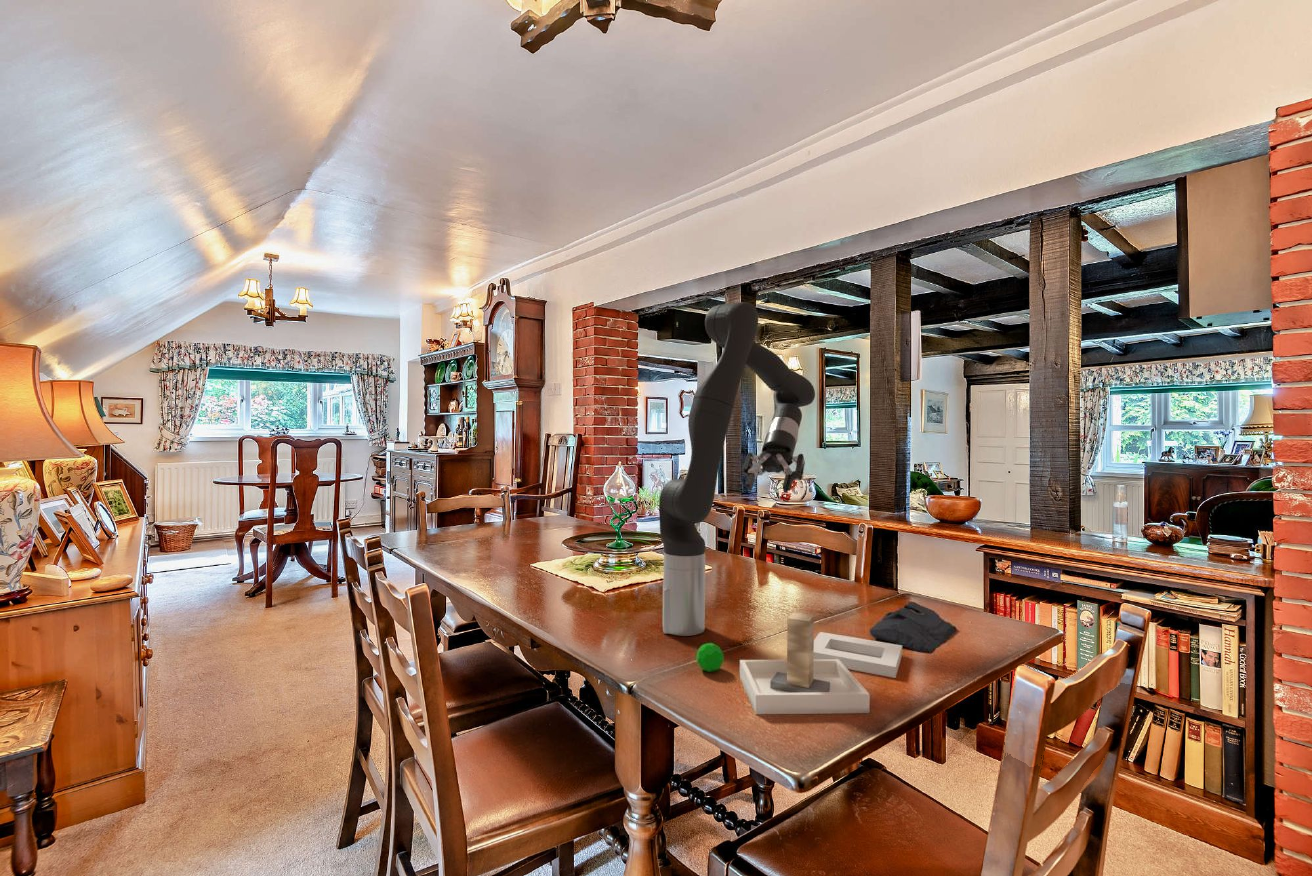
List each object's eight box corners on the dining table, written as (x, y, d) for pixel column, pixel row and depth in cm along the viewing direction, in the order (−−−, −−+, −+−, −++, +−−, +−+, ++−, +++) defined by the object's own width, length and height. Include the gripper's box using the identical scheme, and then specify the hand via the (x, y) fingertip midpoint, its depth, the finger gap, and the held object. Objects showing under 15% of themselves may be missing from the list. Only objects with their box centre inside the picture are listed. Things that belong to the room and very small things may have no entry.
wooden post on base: (770, 688, 99) (770, 616, 99) (777, 678, 103) (778, 609, 103) (824, 699, 95) (825, 624, 95) (829, 689, 99) (830, 617, 99)
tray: (755, 714, 91) (755, 695, 91) (739, 676, 105) (739, 659, 105) (869, 713, 92) (869, 694, 92) (838, 675, 106) (838, 659, 106)
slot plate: (806, 661, 113) (806, 650, 113) (819, 641, 123) (820, 631, 123) (895, 678, 105) (895, 667, 105) (902, 655, 116) (902, 645, 116)
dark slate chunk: (856, 640, 126) (856, 618, 126) (891, 615, 143) (891, 596, 142) (932, 658, 116) (932, 634, 116) (960, 629, 133) (961, 609, 132)
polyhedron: (690, 669, 108) (691, 644, 108) (708, 662, 112) (708, 637, 112) (711, 678, 105) (711, 651, 105) (728, 670, 108) (729, 644, 108)
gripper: (750, 428, 146) (733, 477, 136) (807, 428, 139) (794, 480, 129) (756, 449, 151) (741, 498, 141) (812, 450, 144) (800, 501, 134)
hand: (766, 489), depth 135 cm, fingers open, 8 cm apart
